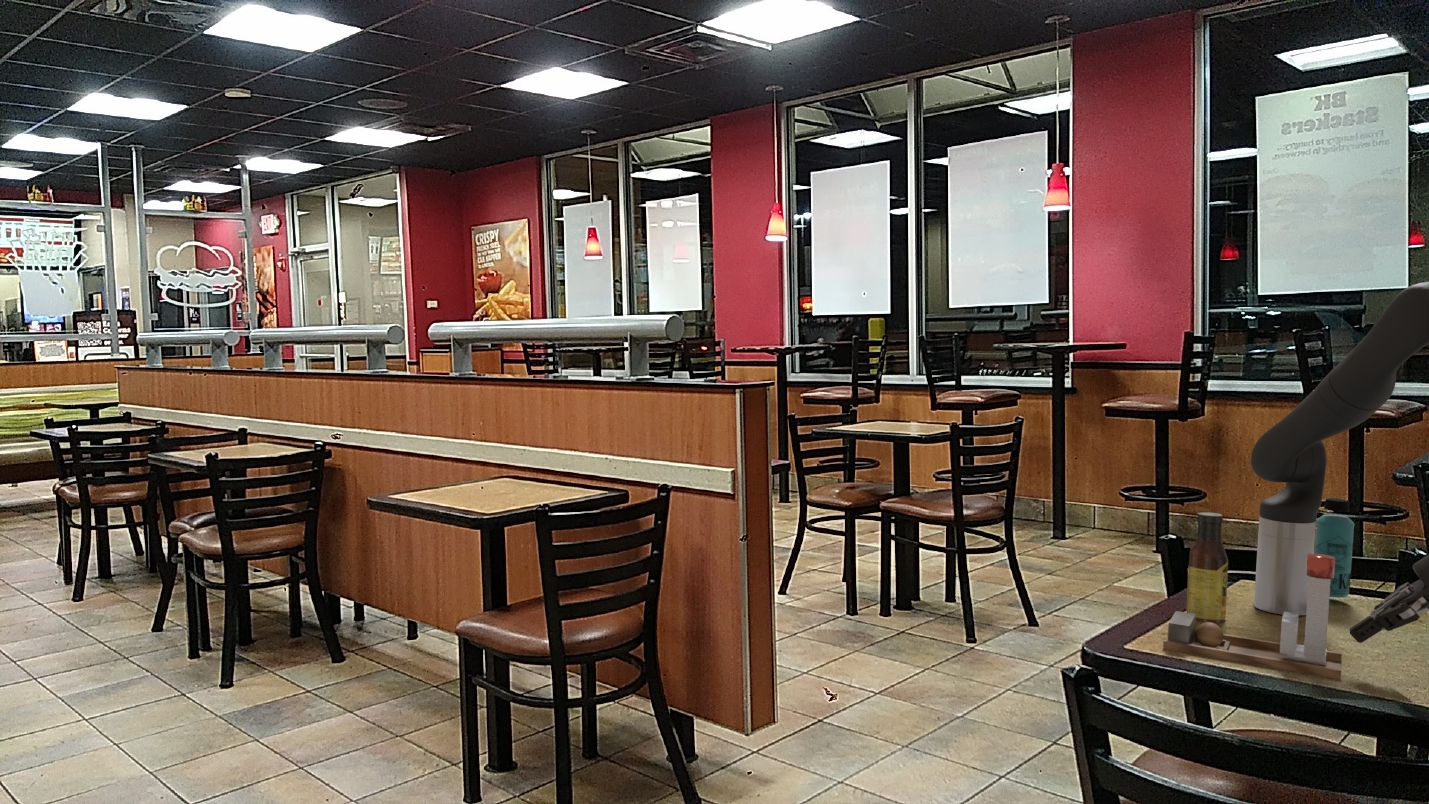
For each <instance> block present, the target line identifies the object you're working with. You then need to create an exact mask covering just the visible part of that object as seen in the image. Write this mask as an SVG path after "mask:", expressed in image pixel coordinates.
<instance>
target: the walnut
mask: <svg viewBox="0 0 1429 804" xmlns="http://www.w3.org/2000/svg"><path fill="white" fill-rule="evenodd" d="M1196 629H1197V630H1196V638H1197V640H1198V642H1199V643H1200V644H1201V645H1204V646H1210V647H1217V646H1219V645H1220V644H1221V643H1222V641H1223V638H1224V635H1223V634H1224V632H1223V630H1222V628H1221V627H1220V626H1219V625H1218V624H1216V623H1211V622H1202V623H1201V624H1199V625H1198V626H1197V628H1196Z"/></svg>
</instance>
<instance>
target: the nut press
mask: <svg viewBox="0 0 1429 804" xmlns="http://www.w3.org/2000/svg"><path fill="white" fill-rule="evenodd" d="M1196 621H1197V620H1196V614H1193V613H1187V611H1180V610H1179V611H1178V610H1175V612H1174V614H1173V615H1172V617H1171V619H1170V620H1169V622H1168V626H1167V627H1168V629H1167V639H1163V645H1162V649H1163V650H1167V651H1172V652H1178V653H1179V652H1180V653H1185V654H1190V655H1197V656H1201V657H1207V658H1212V659H1213V658H1214V659H1218V660H1219V659H1220V660H1225V661H1230V662H1237V663H1243V664H1247V665H1254V666H1261V667H1266V668H1272V669H1277V670H1283V671H1289V672H1294V673H1299V674H1306V675H1310V676H1317V677H1323V678H1328V679H1335V680H1339V681H1341V680H1342V679H1341V678H1342V677H1341V676H1342V658H1343V657H1342V656H1343V655H1342V654H1343V652H1339V651H1334V650H1333V651H1332V650H1327V652H1326V666H1325V667H1323V666H1317V665H1311V664H1305V663H1299V662H1293V661H1287V654H1281V653H1280V642H1277V641H1271V640H1265V639H1259V638H1252V637H1244V636H1240V635H1239V636H1238V635H1234V634H1233V635H1232V634H1227V633H1223V635H1224V638H1223V641H1222V643H1221V644H1220V645H1219V646H1217V647H1210V646H1204V645H1201V644H1200V643H1199V642H1198V640H1197V638H1196V630H1197V628H1196Z"/></svg>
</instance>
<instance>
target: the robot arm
mask: <svg viewBox="0 0 1429 804" xmlns="http://www.w3.org/2000/svg"><path fill="white" fill-rule="evenodd" d="M1426 346H1429V281H1424V282H1419V283H1415V284H1412V285H1410V286H1408V287H1406V288H1405V289H1403V290H1402V291H1400V292H1399V293H1398V294H1397V295H1396V296H1395V297H1394V298H1393V299H1392V301H1391V302H1390V303H1389V304H1388V306H1387V307H1386V309H1385V310H1384V311H1383V313H1382V314H1381V315H1380V316H1379V318H1378V319H1377V320H1376V322H1375V323H1374V325H1373V326H1372V328H1371V329H1369V331H1368V332H1367V334H1366V335H1365V336H1364V337H1363V338H1362V340H1360V341H1359V343H1357V344H1356V346H1354V348H1352V350H1350V352H1349V353H1348V354H1347V355H1346V356H1345V357H1344V358H1343V359H1342V361H1340V362H1339V363H1338V364H1337V365H1336V366H1334V368H1332V370H1330V371H1329V373H1328V374H1326V376H1325V377H1324V378H1323V379H1322V380H1321V381H1320V383H1318V384H1317V386H1316V387H1315V388H1314V389H1313V390H1312V391H1311V392H1310V393H1309V394H1308V395H1307V396H1306V397H1305V398H1304V399H1303V400H1301V402H1300V403H1299V404H1298V405H1297V406H1296V407H1295V408H1294V409H1293V410H1292V411H1290V412H1289V413H1287V415H1286V416H1285V417H1283V418H1282V419H1281V420H1280V421H1278V422H1277V423H1276V424H1274V425H1273V426H1272V427H1271V428H1269V429H1268V430H1266V432H1264V433H1263V434H1262V435H1261V436H1259V438H1258V439H1257V441H1256V442H1255V444H1254V445H1253V448H1252V451H1251V455H1250V462H1251V463H1250V465H1251V468H1252V471H1253V472H1254V474H1255V475H1256V476H1258V477H1259V479H1262V480H1264V481H1268V482H1272V483H1286V484H1285V486H1284V488H1283V489H1281V491H1279V492H1278V493H1277V494H1275V495H1272V496H1270V497H1267V498H1265V499H1263V500H1262V501H1261V502H1260V505H1259V513H1258V514H1259V515H1258V516H1259V518H1258V536H1257V551H1256V564H1255V565H1256V568H1255V582H1254V585H1255V586H1254V596H1253V597H1254V598H1253V599H1254V600H1253V606H1254V607H1255V608H1256V609H1259V610H1261V611H1262V612H1263V611H1264V612H1267V613H1272V614H1276V615H1282V616H1283V613H1284V612H1290V613H1297V614H1299V616H1306V611H1307V596H1308V581H1309V576H1307V575H1306V567H1307V555H1308V554H1314V551H1315V539H1316V527H1317V519H1318V518H1317V516H1318V512H1319V510H1320V508H1321V505H1322V502H1323V500H1322V499H1323V496H1324V495H1323V494H1324V485H1325V478H1326V469H1327V451H1326V447H1325V444H1324V440H1327V439H1328V438H1332V437H1334V436H1337V435H1339V434H1342V433H1344V432H1347V431H1348V430H1351V429H1353V428H1355V427H1357V426H1359V425H1360V424H1361V425H1362V423H1364V422H1365V421H1367V420H1368V419H1369V418H1370V417H1371V416H1373V415H1374V414H1375V413H1376V412H1377V411H1378V410H1379V409H1381V407H1383V406H1384V405H1385V403H1387V401H1388V400H1389V399H1390V398H1391V396H1392V395H1393V393H1394V391H1395V388H1396V382H1397V372H1398V370H1399V368H1400V367H1401V366H1402V365H1403V364H1404V363H1405V362H1406V361H1408V359H1410V358H1412V356H1413V355H1414V354H1416V353H1417V352H1418V351H1420V350H1421V349H1423V348H1424V347H1426ZM1412 569H1413V571H1414V573H1415V575H1416V576H1417V577H1418V578H1419V579H1418V580H1416V581H1414V582H1412V583H1411V584H1410V582H1406V583H1403V584H1401V585H1399V586H1397V587H1396V589H1394V590H1393V591H1392V592H1391V593H1390V594H1389V595H1387V596H1386V597H1385V598H1384V599H1383V600H1381V601H1380V603H1378V604H1376V605H1375V606H1374V608H1373V610H1371V613H1369V616H1367V617H1365V618H1363V619H1362V620H1361V621H1359V622H1357V623H1355V624H1353V626H1350V628H1349V635H1350V636H1351V637H1352V638H1353V639H1354V640H1355V642H1358V643H1360V644H1361V643H1364V642H1365V641H1367V640H1368V639H1371V638H1372V637H1373V636H1374V635H1376V634H1378V633H1380V632H1381V631H1383V632H1384V631H1387V632H1390V631H1393V630H1395V629H1398V628H1400V627H1403V626H1406V625H1408V624H1411V623H1414V622H1417V621H1418V620H1419V619H1420V616H1422V615H1424V614H1426V613H1427V612H1429V554H1428V555H1425V556H1424V557H1422V558H1421V559H1419V560H1418V561H1416V562H1414V563H1413V564H1412Z"/></svg>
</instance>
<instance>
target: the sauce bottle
mask: <svg viewBox="0 0 1429 804" xmlns="http://www.w3.org/2000/svg"><path fill="white" fill-rule="evenodd" d="M1223 518H1224V516H1223V514H1222V513H1217V512H1216V513H1215V512H1208V511H1207V512H1198V513H1197V516H1196V522H1197V534H1196V537H1197V539H1196V541H1195V542H1194V544H1193V545H1192V546H1191V548H1190V550H1189V560H1188V564H1189V565H1187V567H1188V568H1187V595H1186V596H1187V597H1186V600H1187V601H1186V613H1193V614H1196V621H1199V622H1202V623H1206V622H1211V623H1214V624H1216V623H1223V622H1225V620H1226V617H1227V597H1228V596H1227V595H1228V574H1229V573H1228V570H1229V559H1228V555H1227V552H1226V550H1225V545H1224V543H1223V539H1222V524H1223V523H1224V519H1223Z"/></svg>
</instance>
